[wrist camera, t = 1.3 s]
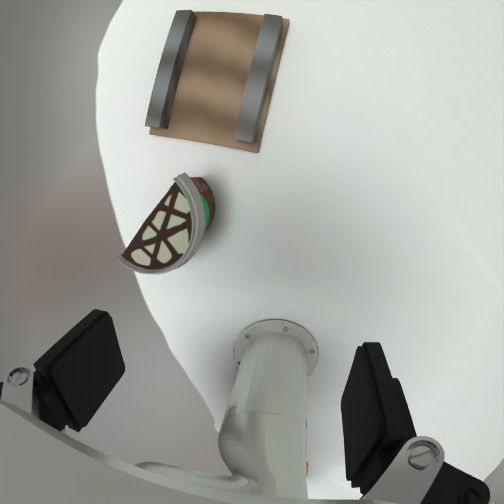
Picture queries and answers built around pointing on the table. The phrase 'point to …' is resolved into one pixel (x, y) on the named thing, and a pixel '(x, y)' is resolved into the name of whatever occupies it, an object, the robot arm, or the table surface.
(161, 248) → the food container
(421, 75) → the table surface
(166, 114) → the cradle
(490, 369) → the table surface
